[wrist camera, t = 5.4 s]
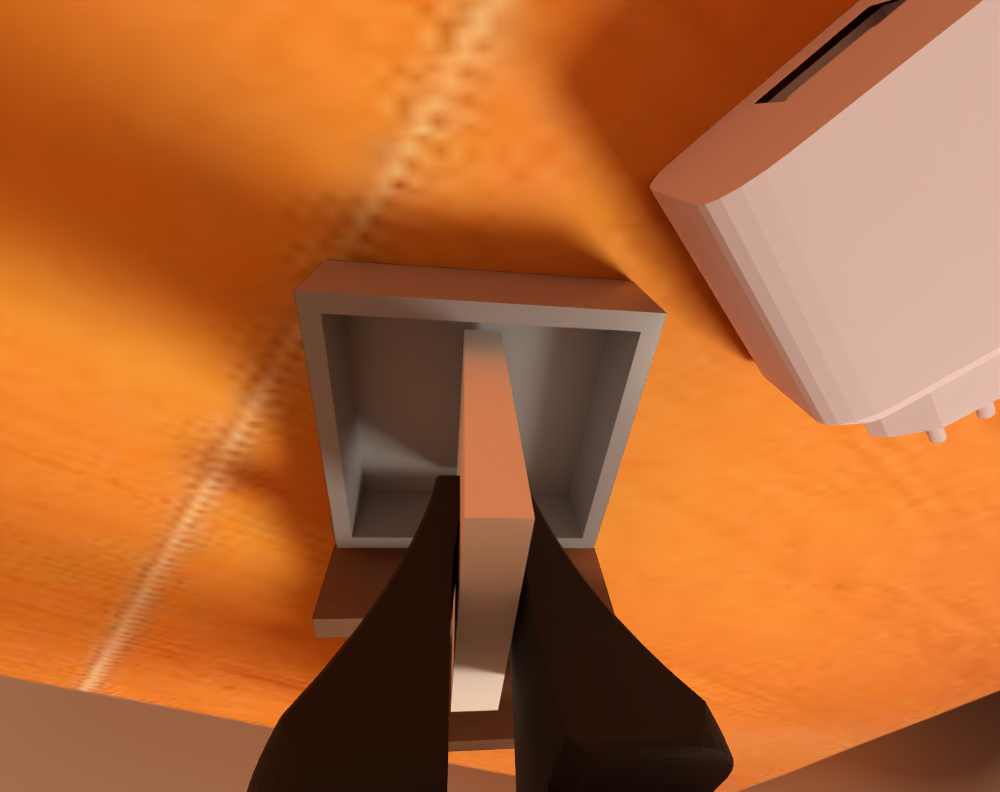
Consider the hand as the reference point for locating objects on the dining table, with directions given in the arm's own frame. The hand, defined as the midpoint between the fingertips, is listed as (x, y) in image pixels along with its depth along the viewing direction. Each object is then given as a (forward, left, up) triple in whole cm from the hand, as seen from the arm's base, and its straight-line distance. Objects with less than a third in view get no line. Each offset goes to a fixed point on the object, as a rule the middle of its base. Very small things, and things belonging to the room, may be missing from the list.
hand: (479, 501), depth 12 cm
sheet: (0, 0, -4) cm, 4 cm away
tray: (0, 0, -5) cm, 5 cm away
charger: (+6, -13, -6) cm, 16 cm away
